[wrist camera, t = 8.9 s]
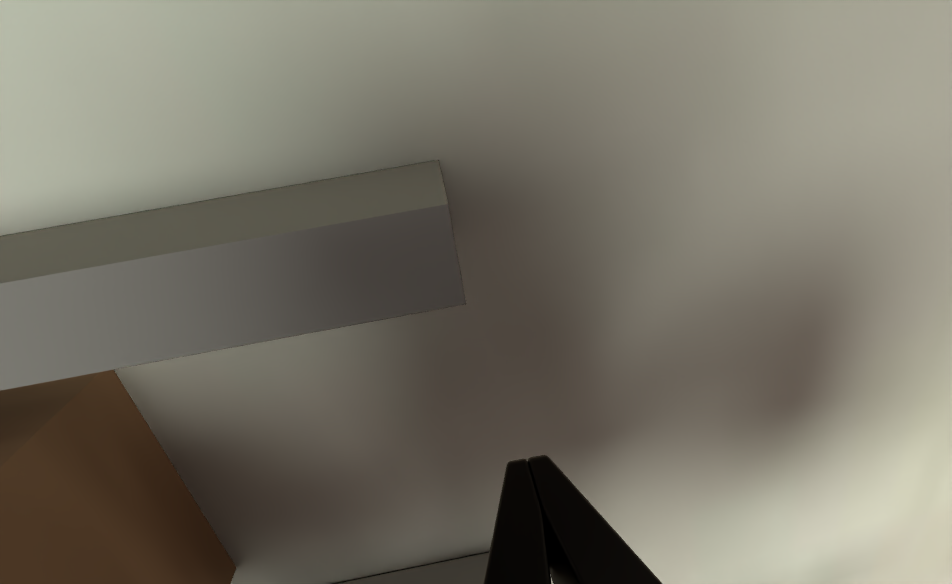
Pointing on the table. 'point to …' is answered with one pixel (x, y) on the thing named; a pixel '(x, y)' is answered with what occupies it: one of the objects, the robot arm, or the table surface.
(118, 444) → the block
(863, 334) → the table surface
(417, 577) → the grey bars
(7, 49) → the table surface
